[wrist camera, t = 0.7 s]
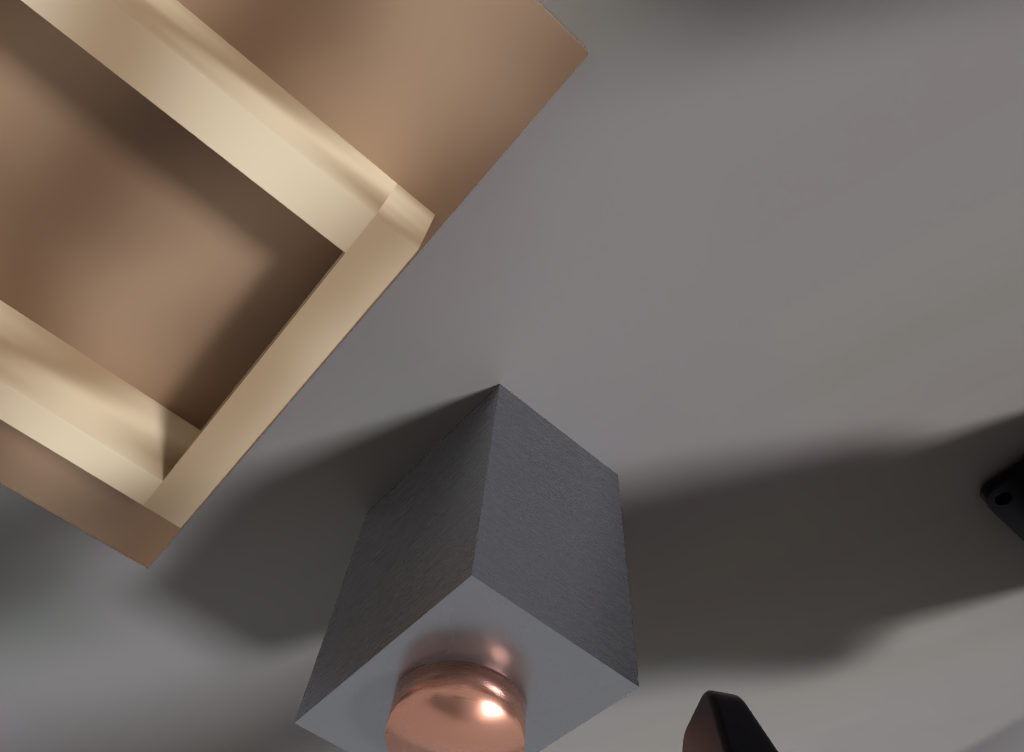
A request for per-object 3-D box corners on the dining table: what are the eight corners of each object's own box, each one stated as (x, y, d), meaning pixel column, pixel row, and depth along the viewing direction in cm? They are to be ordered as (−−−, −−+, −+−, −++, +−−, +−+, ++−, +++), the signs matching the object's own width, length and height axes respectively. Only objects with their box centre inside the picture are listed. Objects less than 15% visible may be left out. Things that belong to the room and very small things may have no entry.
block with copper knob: (617, 474, 24) (642, 726, 16) (479, 587, 27) (445, 847, 19) (500, 383, 23) (466, 612, 15) (367, 512, 26) (281, 760, 18)
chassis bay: (587, 49, 18) (591, 70, 15) (161, 548, 27) (110, 624, 24) (38, -492, 14) (-110, -614, 11) (-247, 308, 23) (-370, 363, 20)
